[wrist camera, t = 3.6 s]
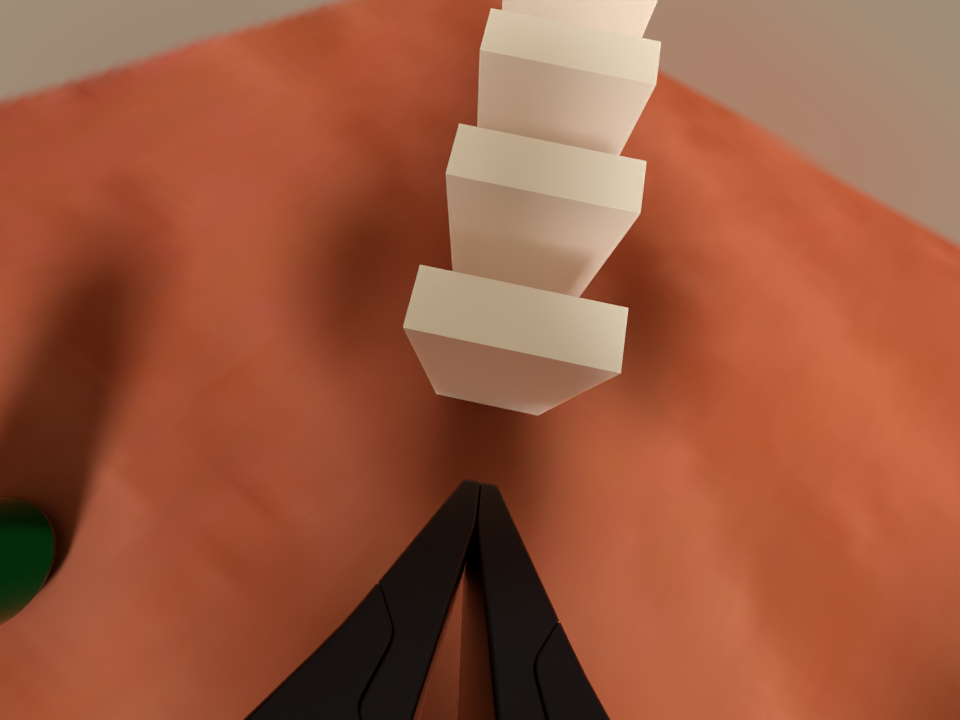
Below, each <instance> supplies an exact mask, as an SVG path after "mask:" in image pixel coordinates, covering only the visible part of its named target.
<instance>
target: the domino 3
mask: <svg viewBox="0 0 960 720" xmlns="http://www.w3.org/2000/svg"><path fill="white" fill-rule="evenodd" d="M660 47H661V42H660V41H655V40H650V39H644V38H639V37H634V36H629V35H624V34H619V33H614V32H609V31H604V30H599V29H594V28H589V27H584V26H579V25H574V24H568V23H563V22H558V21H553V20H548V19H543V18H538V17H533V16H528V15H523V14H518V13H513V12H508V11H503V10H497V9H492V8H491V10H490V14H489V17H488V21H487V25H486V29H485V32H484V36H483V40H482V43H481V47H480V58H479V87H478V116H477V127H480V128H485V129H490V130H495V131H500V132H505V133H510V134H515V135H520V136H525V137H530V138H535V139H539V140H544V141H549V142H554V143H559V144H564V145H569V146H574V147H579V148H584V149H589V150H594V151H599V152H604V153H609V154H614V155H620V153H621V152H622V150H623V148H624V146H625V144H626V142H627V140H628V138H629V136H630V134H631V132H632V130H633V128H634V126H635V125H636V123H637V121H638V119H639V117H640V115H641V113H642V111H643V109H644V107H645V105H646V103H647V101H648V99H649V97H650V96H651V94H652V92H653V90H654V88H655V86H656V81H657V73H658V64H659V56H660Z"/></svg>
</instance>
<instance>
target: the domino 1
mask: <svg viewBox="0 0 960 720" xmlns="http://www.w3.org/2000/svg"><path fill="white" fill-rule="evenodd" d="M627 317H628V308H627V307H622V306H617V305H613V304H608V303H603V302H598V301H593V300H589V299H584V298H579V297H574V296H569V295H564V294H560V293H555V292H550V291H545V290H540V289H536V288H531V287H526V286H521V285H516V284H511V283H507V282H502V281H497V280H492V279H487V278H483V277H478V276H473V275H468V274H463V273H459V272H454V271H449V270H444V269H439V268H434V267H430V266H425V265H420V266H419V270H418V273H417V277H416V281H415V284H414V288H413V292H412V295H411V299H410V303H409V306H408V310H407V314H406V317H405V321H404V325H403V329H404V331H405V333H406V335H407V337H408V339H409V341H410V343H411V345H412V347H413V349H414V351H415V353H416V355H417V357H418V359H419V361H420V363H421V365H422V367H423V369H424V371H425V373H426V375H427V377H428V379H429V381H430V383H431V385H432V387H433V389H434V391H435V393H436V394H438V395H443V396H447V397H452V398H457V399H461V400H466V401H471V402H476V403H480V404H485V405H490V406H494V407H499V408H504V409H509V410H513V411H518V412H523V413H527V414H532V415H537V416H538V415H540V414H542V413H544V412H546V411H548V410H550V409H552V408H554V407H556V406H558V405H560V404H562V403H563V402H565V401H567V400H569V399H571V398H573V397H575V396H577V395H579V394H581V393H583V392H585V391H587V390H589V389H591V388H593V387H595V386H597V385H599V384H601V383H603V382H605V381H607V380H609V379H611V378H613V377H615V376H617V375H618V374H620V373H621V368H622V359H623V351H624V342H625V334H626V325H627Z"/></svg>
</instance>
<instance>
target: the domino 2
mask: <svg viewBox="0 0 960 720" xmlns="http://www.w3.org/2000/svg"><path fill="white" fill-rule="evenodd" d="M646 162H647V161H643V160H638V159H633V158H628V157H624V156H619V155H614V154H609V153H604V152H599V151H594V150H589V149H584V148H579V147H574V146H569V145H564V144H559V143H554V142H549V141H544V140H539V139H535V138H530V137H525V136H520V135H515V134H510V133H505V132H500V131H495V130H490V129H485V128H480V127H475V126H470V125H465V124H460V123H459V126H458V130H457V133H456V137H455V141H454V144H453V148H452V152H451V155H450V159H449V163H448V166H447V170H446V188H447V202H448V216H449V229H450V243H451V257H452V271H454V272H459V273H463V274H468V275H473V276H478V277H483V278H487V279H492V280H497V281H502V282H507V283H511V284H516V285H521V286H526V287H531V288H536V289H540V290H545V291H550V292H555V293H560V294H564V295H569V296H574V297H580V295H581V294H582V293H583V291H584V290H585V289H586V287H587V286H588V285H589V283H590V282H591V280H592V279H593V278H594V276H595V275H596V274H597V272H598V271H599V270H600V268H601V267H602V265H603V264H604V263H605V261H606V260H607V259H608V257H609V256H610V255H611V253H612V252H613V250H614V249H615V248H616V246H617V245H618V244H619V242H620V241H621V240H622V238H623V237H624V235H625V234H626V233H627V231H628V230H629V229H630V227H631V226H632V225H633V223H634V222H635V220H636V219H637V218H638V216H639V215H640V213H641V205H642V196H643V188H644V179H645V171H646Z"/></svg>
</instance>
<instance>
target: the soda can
mask: <svg viewBox="0 0 960 720" xmlns="http://www.w3.org/2000/svg"><path fill="white" fill-rule="evenodd" d="M56 550H57V540H56V534H55V531H54V528H53V525H52V524H51V522H50V521H49V519H48V517H47V516H46V515H45V514H44V513H43V512H42V511H41V510H40V509H39V508H37V507H36V506H35V505H33V504H32V503H30V502H27V501H25V500H23V499H19V498H14V497H0V625H1V624H3V623H4V622H6V621H8V620H9V619H11V618H12V617H14V616H15V615H16V614H17V613H19V612H20V611H21V610H22V609H23V608H24V607H25V606H26V605H27V604H28V603H29V602H30V601H31V600H32V599H33V597H34V596H35V595H36V593H37V592H38V591H39V590H40V588H41V587H42V585H43V584H44V582H45V581H46V579H47V577H48V575H49V573H50V571H51V569H52V567H53V564H54V560H55V556H56Z"/></svg>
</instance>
